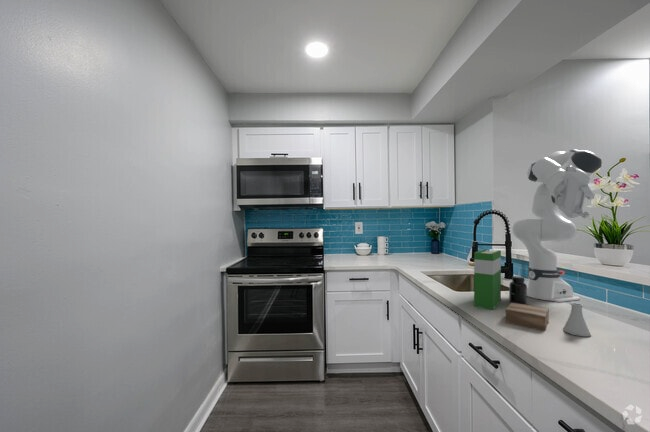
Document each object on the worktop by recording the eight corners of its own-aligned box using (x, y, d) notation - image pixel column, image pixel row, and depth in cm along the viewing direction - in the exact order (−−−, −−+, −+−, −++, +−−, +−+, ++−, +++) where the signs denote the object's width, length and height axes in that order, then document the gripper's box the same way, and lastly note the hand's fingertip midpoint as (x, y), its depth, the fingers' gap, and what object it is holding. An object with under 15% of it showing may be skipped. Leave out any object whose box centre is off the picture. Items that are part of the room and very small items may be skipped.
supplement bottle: (507, 302, 136) (507, 276, 136) (510, 299, 141) (510, 274, 141) (525, 305, 131) (525, 279, 131) (527, 302, 136) (528, 276, 136)
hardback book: (483, 298, 143) (483, 249, 144) (500, 300, 139) (500, 250, 139) (474, 306, 130) (474, 252, 130) (492, 309, 125) (493, 254, 125)
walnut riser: (511, 314, 119) (511, 302, 119) (548, 321, 111) (548, 308, 111) (505, 322, 110) (505, 309, 110) (545, 330, 102) (545, 316, 102)
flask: (596, 338, 96) (596, 308, 96) (571, 336, 98) (571, 306, 98) (581, 329, 103) (581, 301, 103) (558, 328, 105) (558, 300, 105)
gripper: (577, 160, 106) (606, 181, 95) (568, 201, 118) (593, 224, 108) (557, 166, 107) (584, 188, 97) (551, 206, 120) (574, 229, 109)
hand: (589, 207), depth 102 cm, fingers open, 8 cm apart
